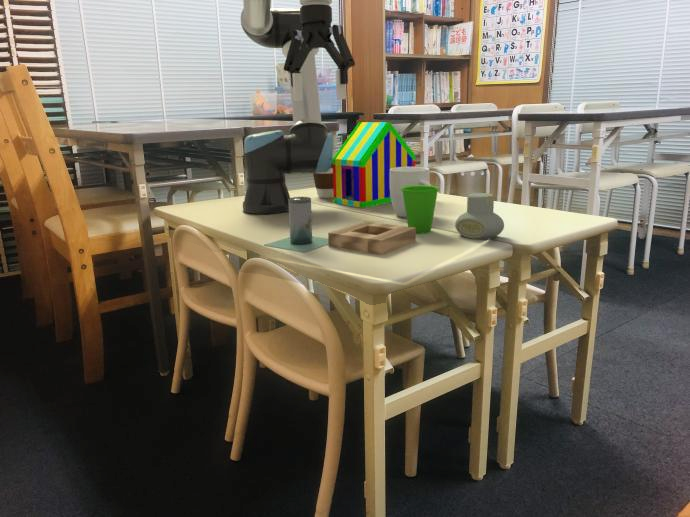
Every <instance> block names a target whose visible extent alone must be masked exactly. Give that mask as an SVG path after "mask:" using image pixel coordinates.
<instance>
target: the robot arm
mask: <svg viewBox="0 0 690 517" xmlns="http://www.w3.org/2000/svg"><path fill="white" fill-rule="evenodd" d="M242 2H243V9H242V11H241V13H240V25H241V28H242V31H243V33H244V34H245V35H246V36H247V37H248V38H249V39H250V40H251V41H252V42H254V43H256V44H257V45H259V46H261V47H264V48H269V49H281V53H282V55H283V56H284V57H285V58H286V59H285V62H284V65H283V70H284V71H285V72H288V78H289V87H290V88H289V90H290V97H291V98H290V99H291V110H292V121H293V125H292V126H291V127H290V128H289V132H288V134H284V132H283V130H281V129H280V130H279V129H278V130H272V131H264V132H258V133H253V134H250V135H247V136H246V137H245V139H244V143H243V145H244V146H243V148H244V151H243V153H244V155H245V156H244V158H245V160H244V161H245V174H246V176H245V178H246V189H245V194H244V200H243V202H242V212H243V213H246V214H251V215H252V214H254V215H266V214H268V215H269V214H279V213H286V212H289V200H288V199H289V198H291V196H290V193H289V189H288V187H287V183H286V181H287V180H286V175H300V174H301V175H303V174H313V173H315V174H316V173H321V172H327V171H329V170H330V168H331V165H332V159H333V158H334V149H335V148H334V147H335V146H334V143H335V140H334V134H333V133H332V132H328V126H327V125H326V124H324V123H322V114H321V106H320V95H319V94H320V93H319V88H318V87H319V84H318V83H319V82H318V75H317V67H316V66H317V64H316V55H317V54H318V53H319V50H320V49H325V51H326V52H327V53H328V55H329V56H330V58H331V59H332V61H333V62H334V64H335V65H336V67H337V68H336V70H335V84H336V85H335V86H336V88H335V89H336V100H346V99H347V93H346V92H347V89H346V88H347V87H346V86H347V85H348V84H349V74H348V73H349V69H350V68H352V67H355V65H356V61H355V60H354V57H353V54H352V52H351V50H350V48H349V45H348V43H347V40H346V37H345V36H344V28H343V25H341V24H340V25H339V24H333V25H332V23H333V10H332V9H333V8H332V6H331V4H332V2H333V1H332V0H299V4H300V5H301V6H300V8H281V7H280V8H276V7H275V8H271V5H272V0H242ZM332 36H333V39H334V41H335V43H334V41H333V40H332V38H331V37H332ZM335 45H336V46H337V47H336V46H335Z"/></svg>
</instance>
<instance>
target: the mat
mask: <svg viewBox="0 0 690 517" xmlns="http://www.w3.org/2000/svg"><path fill="white" fill-rule="evenodd" d="M263 246H264V247H265V246H266V247H271V248H277V249H282V250H287V251H293V252H299V253H307V252H311V251H314V250H316V249H320V248H322V247H326V246H329V245H328V237H327V238H326V237H320V236H313V235H312V243H311V244H307V245H293V244H291V243H290V236H289V237H286V238H282V239H279V240H275V241H272V242H269V243H265V244H263Z"/></svg>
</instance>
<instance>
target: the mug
mask: <svg viewBox="0 0 690 517" xmlns="http://www.w3.org/2000/svg"><path fill="white" fill-rule="evenodd" d="M430 172H431V170H430V168H429V167H421V166H415V167H397V168H391V169H390V196H391V201H392V202H391V205H392V208H393V210H394V212H395V215H397V216H398V217H400V218H404V219H405V218H406V219H407V217H406V210H405V204H404V197H403V191H402V190H401V188H402V187H405V186H412V185H430V186H432V184H431V182H430V181H431V180H430V177H431V176H430V175H431V174H430Z"/></svg>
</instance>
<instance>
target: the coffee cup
mask: <svg viewBox="0 0 690 517" xmlns="http://www.w3.org/2000/svg"><path fill="white" fill-rule="evenodd" d="M312 176H313V181H314V186H315V189H316V193H317V194H316V195H317V196H318V198H319V197H320V198H319V199H334V193H333V161H332V165H331V168H330V170H329V171H327V172H321V173H316V174H315V173H312Z"/></svg>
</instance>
